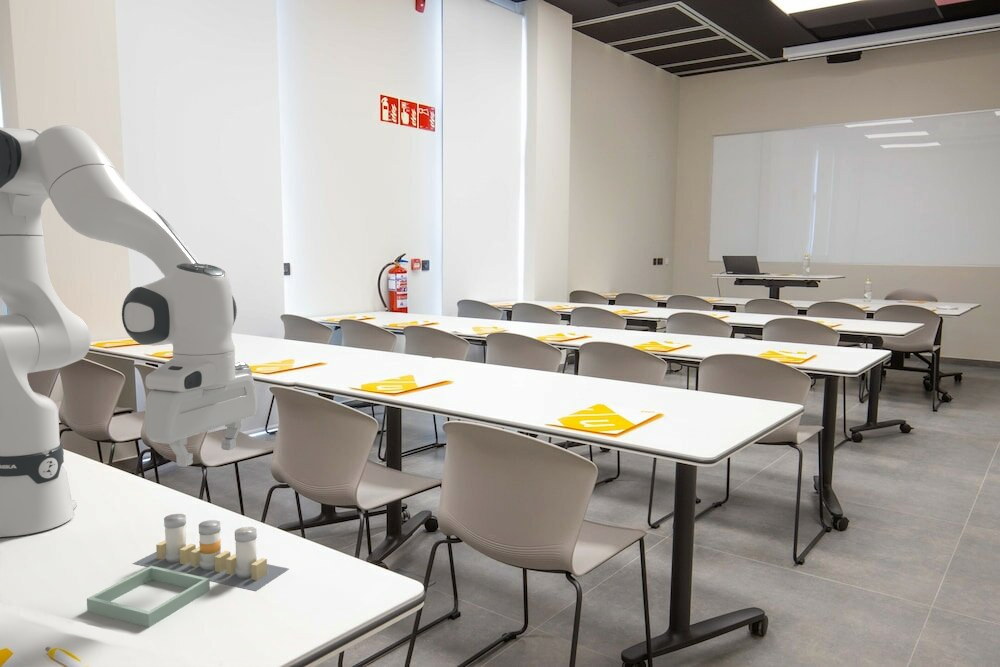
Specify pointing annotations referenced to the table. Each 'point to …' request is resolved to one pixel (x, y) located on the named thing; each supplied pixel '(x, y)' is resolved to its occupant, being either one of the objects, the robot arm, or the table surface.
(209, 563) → the marked fuse
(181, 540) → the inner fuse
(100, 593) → the parts tray
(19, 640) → the table surface
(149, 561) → the fuse holder
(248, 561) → the outer fuse
